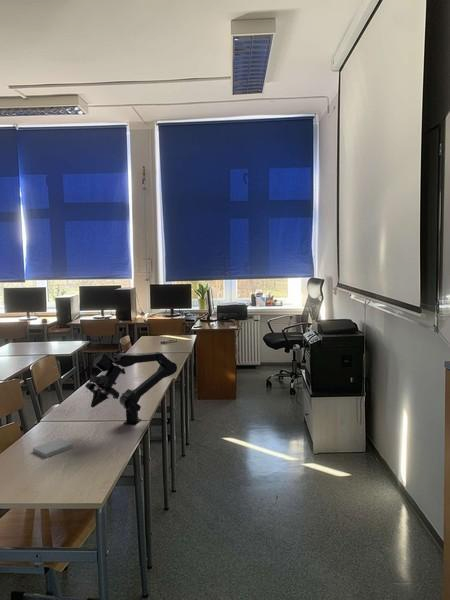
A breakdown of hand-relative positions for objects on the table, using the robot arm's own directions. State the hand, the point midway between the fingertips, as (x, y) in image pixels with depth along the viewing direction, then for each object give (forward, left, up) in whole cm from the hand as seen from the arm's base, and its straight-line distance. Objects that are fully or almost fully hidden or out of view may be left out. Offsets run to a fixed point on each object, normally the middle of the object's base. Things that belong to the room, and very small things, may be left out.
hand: (91, 407), depth 201 cm
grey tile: (+12, -6, -12) cm, 18 cm away
